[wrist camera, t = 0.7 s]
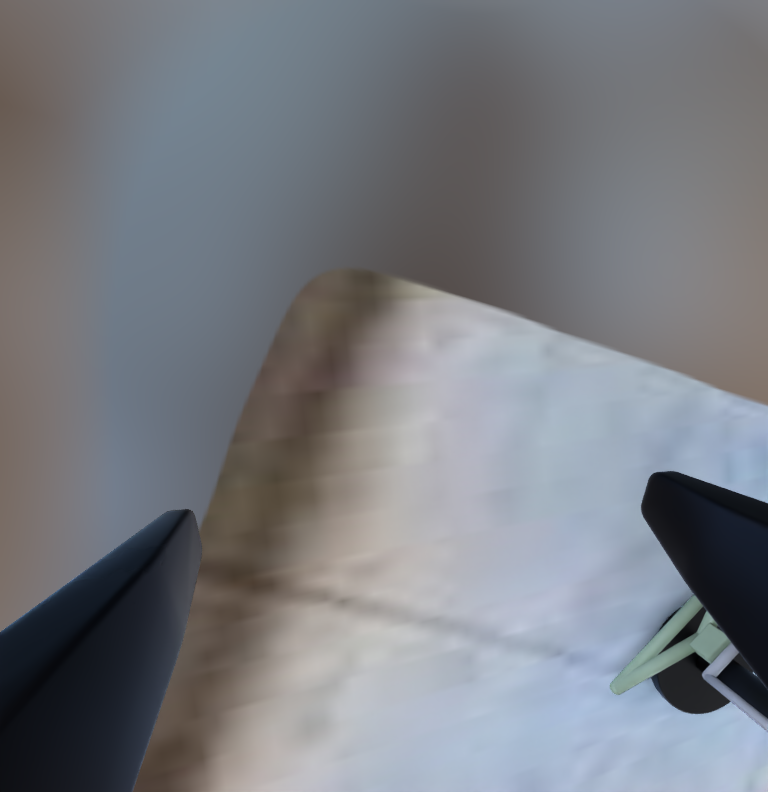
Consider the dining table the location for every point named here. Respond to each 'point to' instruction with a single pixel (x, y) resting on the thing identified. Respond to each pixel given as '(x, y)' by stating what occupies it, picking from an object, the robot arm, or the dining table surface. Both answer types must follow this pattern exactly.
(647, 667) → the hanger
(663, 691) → the black holder stand
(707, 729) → the dining table surface
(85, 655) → the robot arm
